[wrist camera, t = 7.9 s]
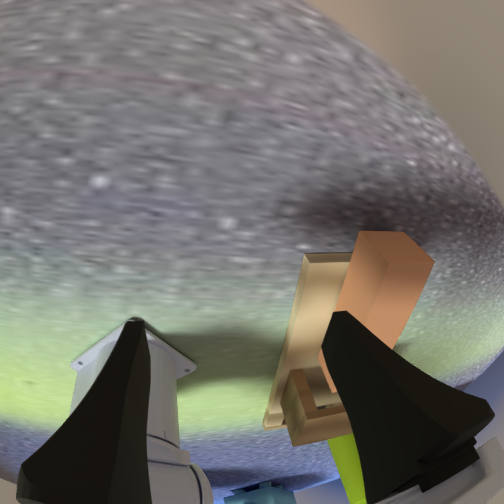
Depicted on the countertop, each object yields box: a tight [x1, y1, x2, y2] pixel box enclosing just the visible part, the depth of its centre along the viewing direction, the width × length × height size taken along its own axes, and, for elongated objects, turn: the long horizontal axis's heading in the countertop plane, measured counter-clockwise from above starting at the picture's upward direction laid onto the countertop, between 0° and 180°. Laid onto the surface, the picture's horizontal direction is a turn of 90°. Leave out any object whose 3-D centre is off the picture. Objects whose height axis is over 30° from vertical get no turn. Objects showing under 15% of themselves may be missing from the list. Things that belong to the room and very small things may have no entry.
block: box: [318, 231, 435, 393], centre depth 22 cm, size 13×4×4 cm, turn 175°
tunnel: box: [280, 369, 353, 447], centre depth 28 cm, size 6×8×6 cm
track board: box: [262, 253, 353, 431], centre depth 29 cm, size 25×10×1 cm, turn 175°
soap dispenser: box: [327, 433, 367, 504], centre depth 35 cm, size 6×7×20 cm
